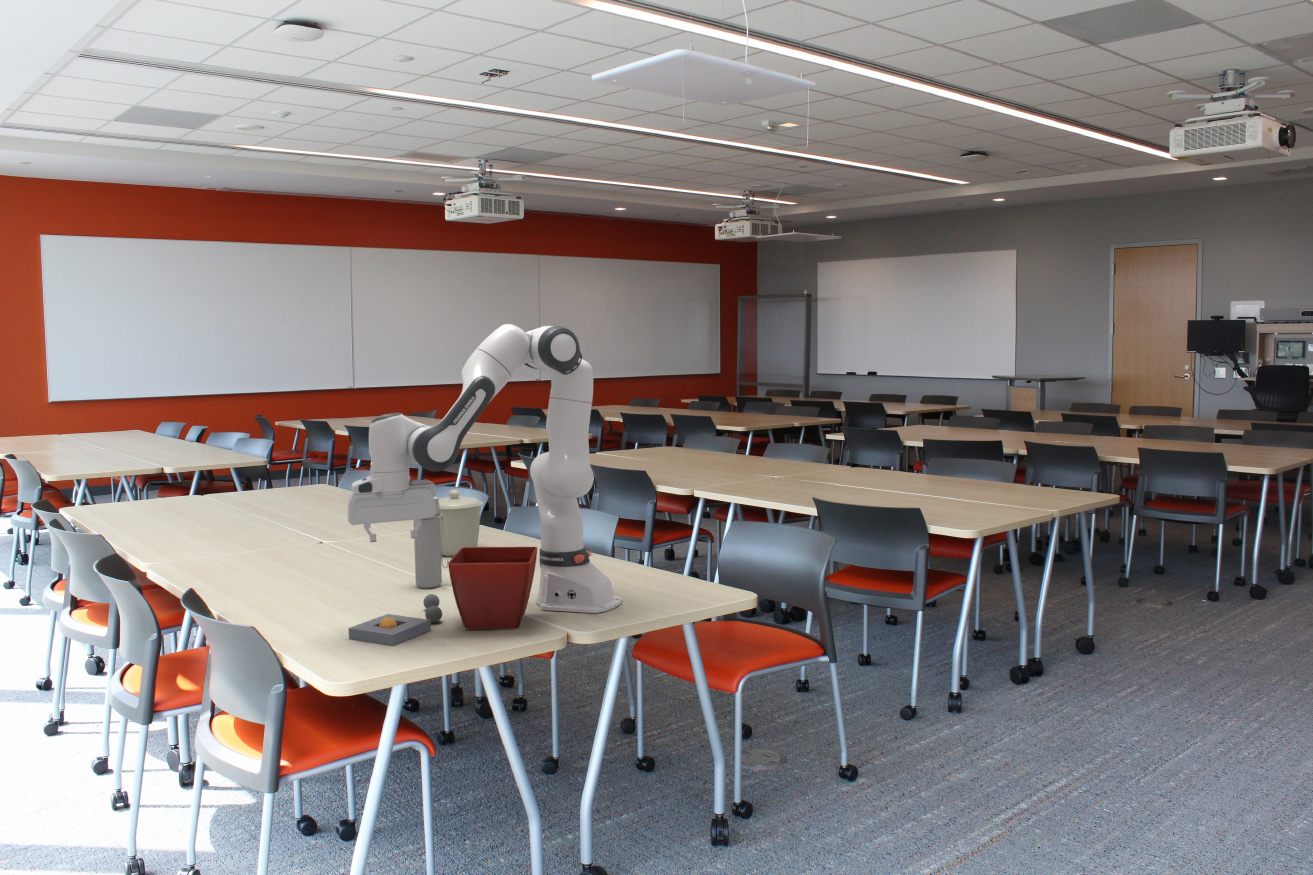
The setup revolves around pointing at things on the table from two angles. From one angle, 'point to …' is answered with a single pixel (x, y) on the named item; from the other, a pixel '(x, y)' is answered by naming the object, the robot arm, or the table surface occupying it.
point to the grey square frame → (390, 630)
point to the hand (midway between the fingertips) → (393, 539)
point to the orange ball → (388, 623)
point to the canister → (459, 522)
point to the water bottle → (429, 551)
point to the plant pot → (492, 585)
